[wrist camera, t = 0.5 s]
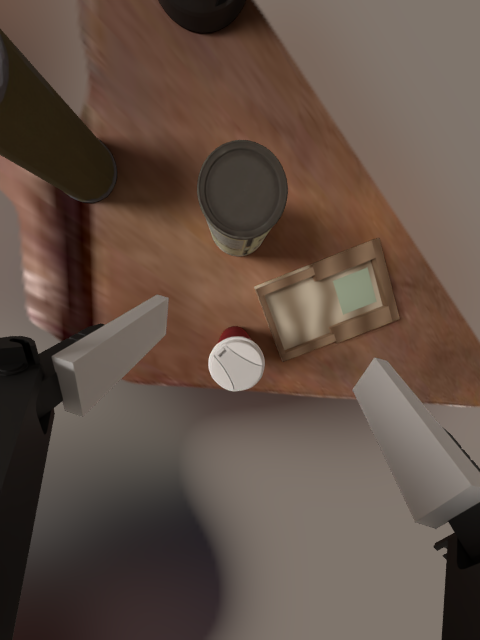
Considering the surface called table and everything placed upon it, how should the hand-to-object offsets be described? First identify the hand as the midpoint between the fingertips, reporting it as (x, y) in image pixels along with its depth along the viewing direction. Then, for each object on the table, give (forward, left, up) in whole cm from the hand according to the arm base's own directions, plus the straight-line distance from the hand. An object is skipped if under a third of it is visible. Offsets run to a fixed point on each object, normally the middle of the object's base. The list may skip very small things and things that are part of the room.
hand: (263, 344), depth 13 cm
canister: (-19, -30, -27) cm, 44 cm away
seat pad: (-6, +21, -26) cm, 35 cm away
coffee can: (-14, -3, -27) cm, 30 cm away
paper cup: (+7, 0, -27) cm, 27 cm away
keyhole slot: (-3, +16, -26) cm, 31 cm away
